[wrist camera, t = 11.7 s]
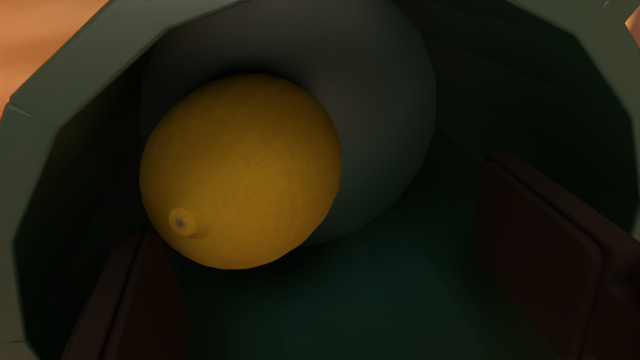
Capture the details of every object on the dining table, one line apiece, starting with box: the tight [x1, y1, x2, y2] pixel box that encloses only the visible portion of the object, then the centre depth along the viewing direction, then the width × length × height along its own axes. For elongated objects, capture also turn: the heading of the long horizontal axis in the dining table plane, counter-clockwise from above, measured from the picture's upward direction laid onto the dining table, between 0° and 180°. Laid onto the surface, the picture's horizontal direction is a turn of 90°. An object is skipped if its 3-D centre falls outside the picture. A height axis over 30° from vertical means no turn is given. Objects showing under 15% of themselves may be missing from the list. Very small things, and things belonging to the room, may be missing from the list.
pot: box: [0, 0, 640, 360], centre depth 13 cm, size 13×19×10 cm
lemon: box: [139, 74, 343, 269], centre depth 13 cm, size 6×6×8 cm
